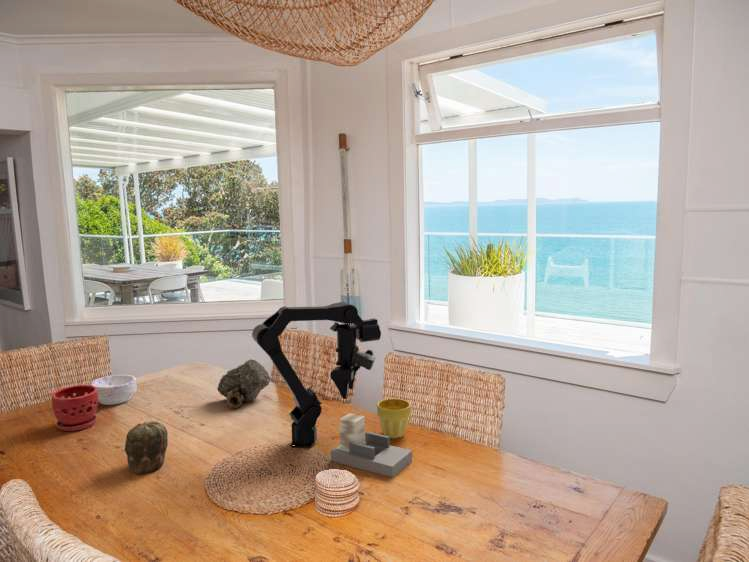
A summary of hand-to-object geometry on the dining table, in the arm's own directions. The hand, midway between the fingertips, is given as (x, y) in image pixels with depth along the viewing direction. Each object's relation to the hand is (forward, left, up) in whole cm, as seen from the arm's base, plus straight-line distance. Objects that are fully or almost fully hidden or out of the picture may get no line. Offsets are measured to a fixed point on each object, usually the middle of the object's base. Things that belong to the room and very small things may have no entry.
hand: (347, 393), depth 166 cm
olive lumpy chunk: (-50, -28, -13) cm, 59 cm away
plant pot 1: (-89, -5, -13) cm, 90 cm away
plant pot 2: (+14, +2, -13) cm, 19 cm away
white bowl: (-92, +19, -13) cm, 95 cm away
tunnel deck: (+10, -17, -13) cm, 24 cm away
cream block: (+4, -15, -10) cm, 18 cm away
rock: (-45, +23, -13) cm, 52 cm away
